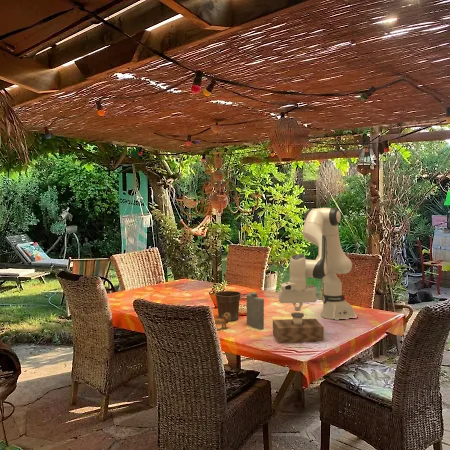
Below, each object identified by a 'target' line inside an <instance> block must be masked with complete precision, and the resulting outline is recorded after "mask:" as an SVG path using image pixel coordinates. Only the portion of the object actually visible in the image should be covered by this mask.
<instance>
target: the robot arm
mask: <svg viewBox="0 0 450 450" xmlns="http://www.w3.org/2000/svg"><path fill="white" fill-rule="evenodd" d="M303 218H304V223H303V227H302V236H303V238H304V239H305V240H306V241H307V242H309V243H310V244H312V245H315V246H316V247H318V255H317V256H316V258H315V259H307V258H306V256H305V255H304V254H301V253H300V254H294V255H291V257H290V259H289V260H290V261H289V279H288V281H286V282H283V283H281V284H280V287H281V288H280V290H279V292H278V302H279V303H281V304H292V306H293V307H294V311H296V312H300V311H301V308H302V306H303V305H304V303H316V302H317V301H318V299H317V291H318V288H317V286H316V285H314V284H307V278H312V279H317V280H322V281H323V293H322V305H323V306H322V309H321V314H320V316H321V317H322V318H324V319H329V320H333V319H335V320H334V321H340V320H339V319H346V318H353V317H355V315H356V313H355V309H354V307H353V306H352V305H351V304H350V303H349V302H347V300H348V296H347V295H344V294H342V293H343V291H342V290H343V283H342V281H341V279H340V278H339V277H338V275H337V274H339V275H342V274H343V275H345V274H348V273H349V274H350V272H351V271H352V267H353V262H352V260H351V259H350V257H348V256H347V255H346V254H345V252H344V250H343V247H342V245H341V241H340V240H341V239H340V232H339V231H340V230H339V226H338V225H339V224H340V222H341V220H342V214H341V211H340V210H339V209H338V208H336V207H319V208H310V209H307V210H306V211H305V213H304V217H303ZM297 304H299V306H296V305H297ZM346 320H347V319H346Z"/></svg>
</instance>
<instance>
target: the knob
mask: <svg viewBox="0 0 450 450" xmlns="http://www.w3.org/2000/svg"><path fill="white" fill-rule="evenodd" d="M290 316H291V317H292V319H293V325H302V319H303V317H304V318H305V314H304V312H300V311H296V312H291V314H290Z"/></svg>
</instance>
